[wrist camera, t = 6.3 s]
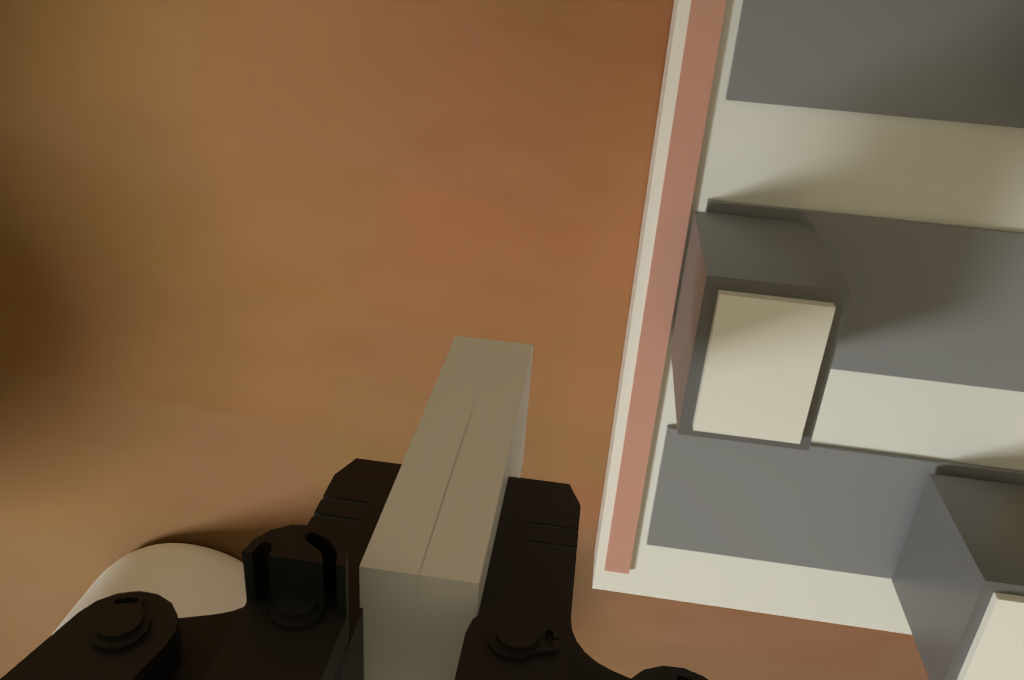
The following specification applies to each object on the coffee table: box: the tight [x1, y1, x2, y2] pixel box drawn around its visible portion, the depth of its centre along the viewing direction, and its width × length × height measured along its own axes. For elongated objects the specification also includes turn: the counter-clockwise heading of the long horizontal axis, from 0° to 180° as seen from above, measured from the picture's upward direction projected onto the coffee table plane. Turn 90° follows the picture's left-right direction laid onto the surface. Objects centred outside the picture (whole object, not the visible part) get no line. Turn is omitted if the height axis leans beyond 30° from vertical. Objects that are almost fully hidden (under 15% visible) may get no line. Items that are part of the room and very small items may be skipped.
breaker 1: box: [671, 211, 851, 451], centre depth 21 cm, size 3×4×5 cm
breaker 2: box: [892, 473, 1024, 680], centre depth 23 cm, size 3×4×5 cm
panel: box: [592, 0, 1024, 635], centre depth 22 cm, size 14×30×2 cm, turn 176°
